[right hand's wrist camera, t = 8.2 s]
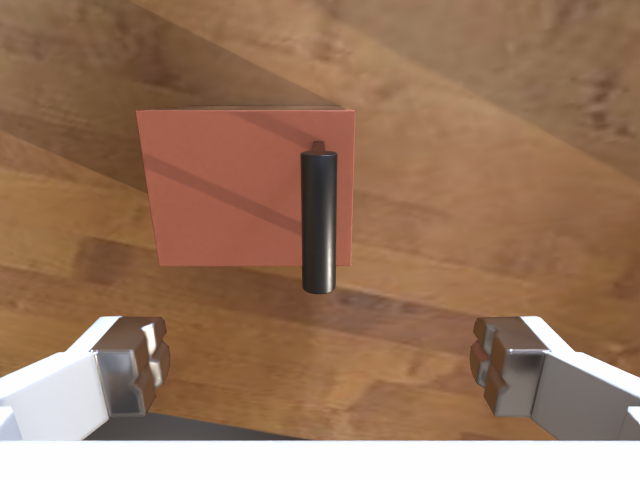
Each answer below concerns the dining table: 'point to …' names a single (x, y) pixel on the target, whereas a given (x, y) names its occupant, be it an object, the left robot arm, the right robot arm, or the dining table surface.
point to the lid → (251, 188)
